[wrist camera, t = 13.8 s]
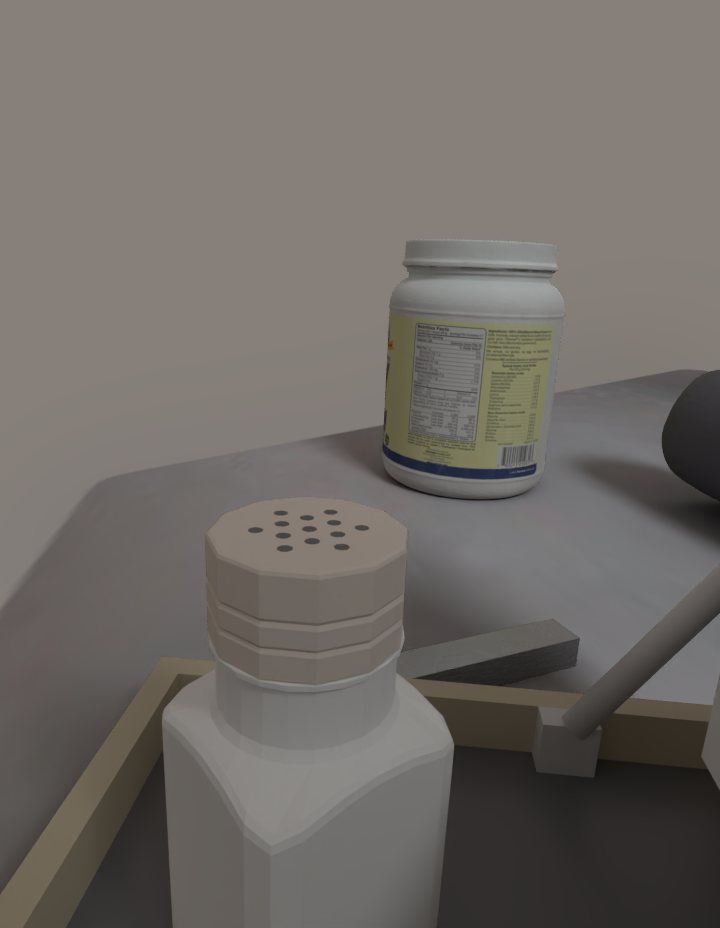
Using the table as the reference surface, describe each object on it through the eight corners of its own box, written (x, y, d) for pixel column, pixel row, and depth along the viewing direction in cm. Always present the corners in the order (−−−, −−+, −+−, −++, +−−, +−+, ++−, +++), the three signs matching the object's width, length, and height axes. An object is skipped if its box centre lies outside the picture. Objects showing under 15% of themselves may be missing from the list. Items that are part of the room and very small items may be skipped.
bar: (548, 652, 27) (552, 618, 27) (574, 673, 26) (580, 638, 26) (272, 720, 23) (272, 680, 22) (286, 750, 21) (286, 708, 21)
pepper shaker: (443, 993, 13) (490, 543, 10) (266, 1157, 10) (265, 619, 8) (322, 853, 16) (334, 476, 13) (162, 954, 13) (136, 515, 11)
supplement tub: (414, 447, 57) (427, 245, 53) (555, 470, 53) (584, 249, 48) (353, 484, 47) (363, 235, 42) (523, 517, 42) (556, 239, 37)
